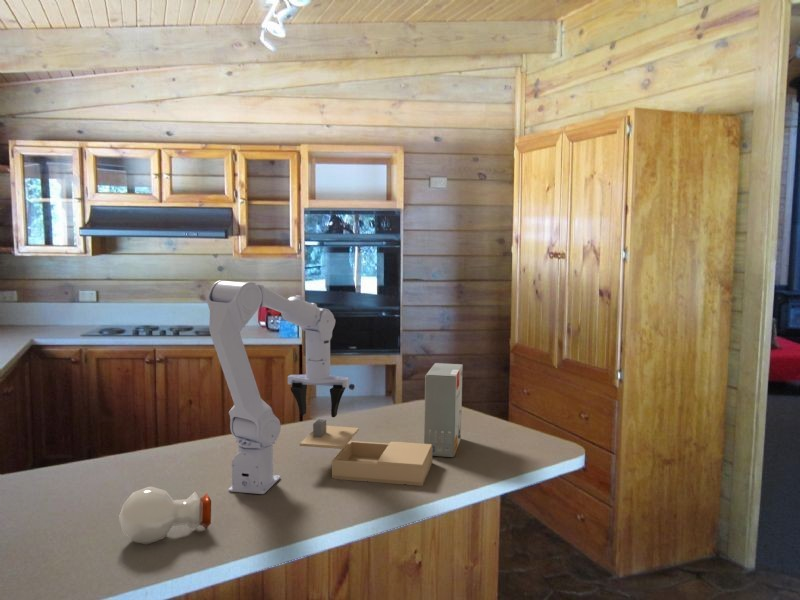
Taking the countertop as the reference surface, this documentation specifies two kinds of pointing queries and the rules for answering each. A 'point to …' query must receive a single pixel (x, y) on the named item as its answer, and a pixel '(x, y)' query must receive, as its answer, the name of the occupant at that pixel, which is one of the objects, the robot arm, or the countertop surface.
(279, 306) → the robot arm
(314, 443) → the lid flap
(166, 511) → the potion bottle
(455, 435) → the hard drive box
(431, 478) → the countertop surface
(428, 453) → the carton
